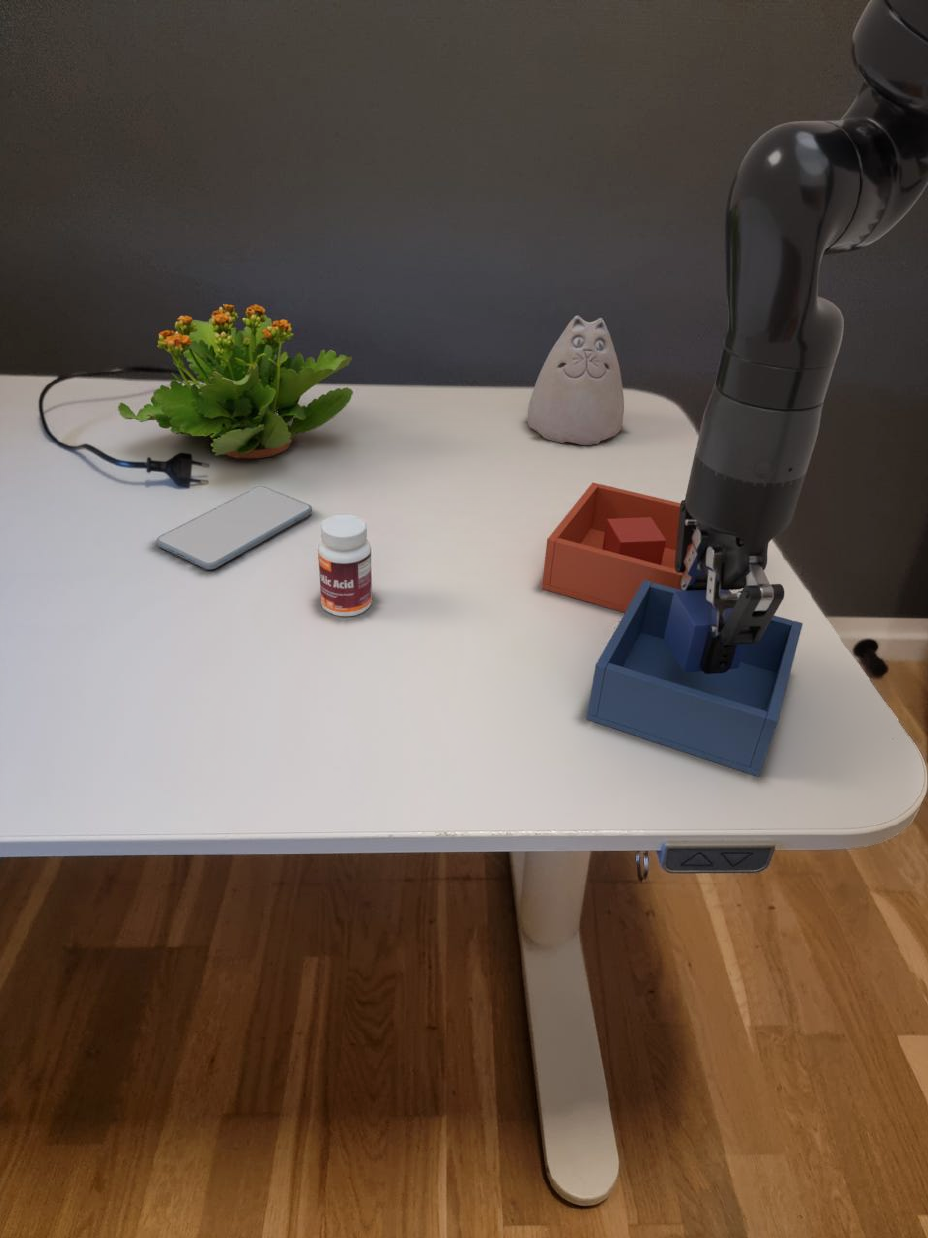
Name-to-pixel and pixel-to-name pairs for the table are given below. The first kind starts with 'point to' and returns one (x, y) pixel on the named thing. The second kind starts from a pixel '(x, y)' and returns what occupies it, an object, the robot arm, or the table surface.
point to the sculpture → (579, 387)
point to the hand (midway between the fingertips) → (701, 649)
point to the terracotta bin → (601, 573)
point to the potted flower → (241, 385)
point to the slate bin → (691, 687)
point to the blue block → (693, 629)
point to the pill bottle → (345, 565)
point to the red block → (635, 539)
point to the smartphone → (234, 527)
